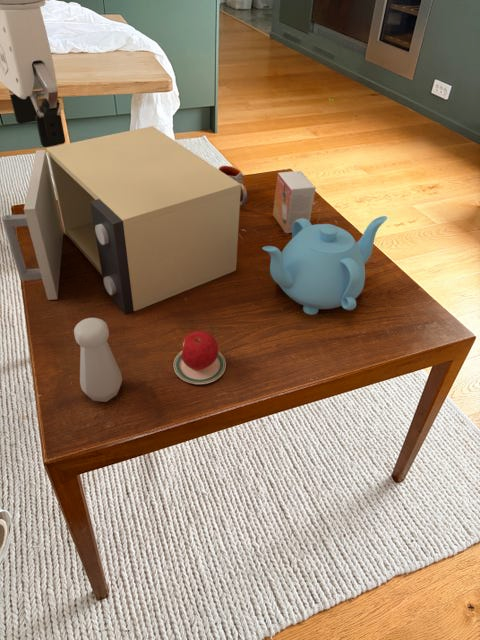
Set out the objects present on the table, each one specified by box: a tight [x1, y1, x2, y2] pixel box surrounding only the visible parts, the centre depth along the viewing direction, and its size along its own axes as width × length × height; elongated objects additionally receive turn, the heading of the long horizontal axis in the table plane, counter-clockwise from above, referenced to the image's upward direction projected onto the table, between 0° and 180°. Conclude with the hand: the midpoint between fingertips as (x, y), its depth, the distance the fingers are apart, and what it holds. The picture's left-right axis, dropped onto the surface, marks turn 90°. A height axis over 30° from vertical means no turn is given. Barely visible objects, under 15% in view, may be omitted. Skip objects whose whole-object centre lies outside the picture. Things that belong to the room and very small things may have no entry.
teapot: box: [261, 215, 388, 316], centre depth 87 cm, size 16×20×14 cm
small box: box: [272, 170, 317, 234], centre depth 107 cm, size 8×6×10 cm
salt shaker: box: [73, 317, 123, 403], centre depth 68 cm, size 6×6×13 cm
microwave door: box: [1, 149, 64, 301], centre depth 88 cm, size 6×22×18 cm, turn 12°
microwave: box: [46, 125, 241, 315], centre depth 93 cm, size 24×30×18 cm
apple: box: [173, 330, 227, 385], centre depth 74 cm, size 8×8×6 cm
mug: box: [217, 165, 248, 208], centre depth 114 cm, size 12×7×7 cm, turn 25°
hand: (40, 132), depth 70 cm, fingers open, 9 cm apart
